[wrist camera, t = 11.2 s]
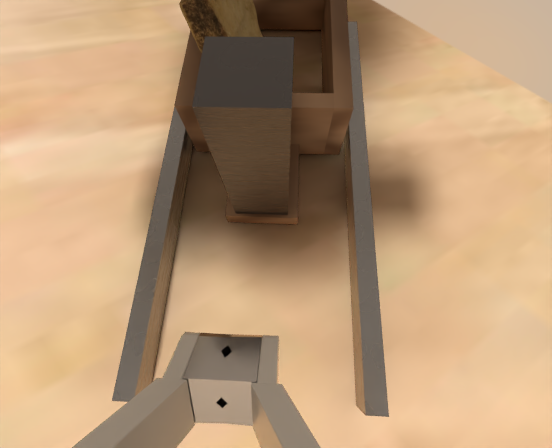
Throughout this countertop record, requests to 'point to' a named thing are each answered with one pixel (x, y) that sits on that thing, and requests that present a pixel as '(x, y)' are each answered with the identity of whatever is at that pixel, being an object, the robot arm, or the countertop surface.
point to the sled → (267, 106)
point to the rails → (162, 244)
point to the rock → (220, 19)
